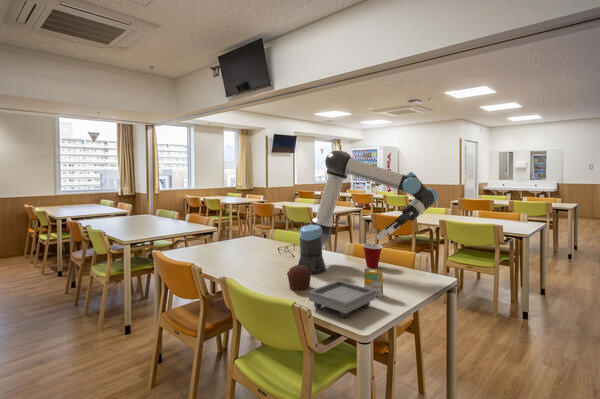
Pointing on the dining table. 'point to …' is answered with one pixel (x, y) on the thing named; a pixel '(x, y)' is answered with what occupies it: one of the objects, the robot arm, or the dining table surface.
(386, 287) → the dining table surface
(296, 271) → the muffin
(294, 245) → the eyeglasses
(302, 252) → the robot arm
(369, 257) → the plastic cup
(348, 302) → the grey footed tray
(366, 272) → the crayon box
